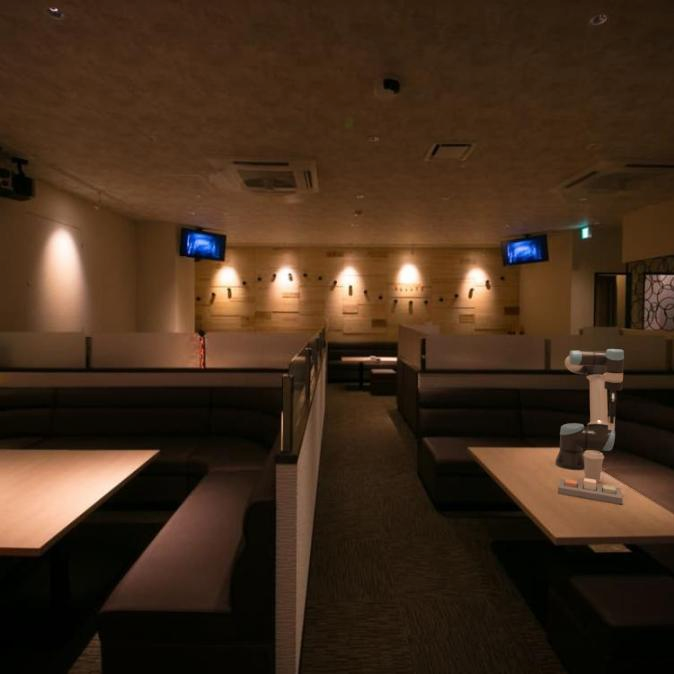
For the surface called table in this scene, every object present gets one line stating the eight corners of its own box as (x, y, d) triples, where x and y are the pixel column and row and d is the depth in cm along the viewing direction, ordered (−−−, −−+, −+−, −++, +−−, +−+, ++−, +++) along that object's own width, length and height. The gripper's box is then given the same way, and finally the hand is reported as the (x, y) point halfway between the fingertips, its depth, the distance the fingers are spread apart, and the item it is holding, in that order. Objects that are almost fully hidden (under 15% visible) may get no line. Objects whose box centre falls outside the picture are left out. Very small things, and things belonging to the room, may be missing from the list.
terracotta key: (565, 485, 236) (565, 478, 236) (576, 487, 234) (577, 480, 234) (564, 489, 232) (565, 482, 232) (576, 491, 229) (576, 483, 229)
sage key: (602, 492, 229) (603, 484, 228) (614, 494, 226) (615, 486, 226) (602, 495, 224) (603, 488, 224) (615, 497, 222) (615, 490, 222)
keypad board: (560, 484, 241) (560, 478, 241) (620, 494, 229) (620, 488, 229) (558, 493, 229) (558, 487, 229) (621, 504, 217) (622, 498, 217)
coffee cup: (605, 485, 241) (607, 455, 240) (584, 483, 243) (586, 454, 242) (599, 478, 250) (600, 450, 249) (579, 477, 252) (580, 449, 251)
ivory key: (584, 485, 232) (584, 477, 232) (595, 486, 230) (596, 479, 230) (583, 488, 228) (584, 481, 228) (595, 490, 226) (596, 483, 225)
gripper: (604, 378, 240) (602, 425, 242) (604, 382, 229) (602, 431, 230) (621, 380, 237) (619, 427, 238) (623, 383, 225) (620, 433, 227)
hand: (611, 429), depth 234 cm, fingers closed
